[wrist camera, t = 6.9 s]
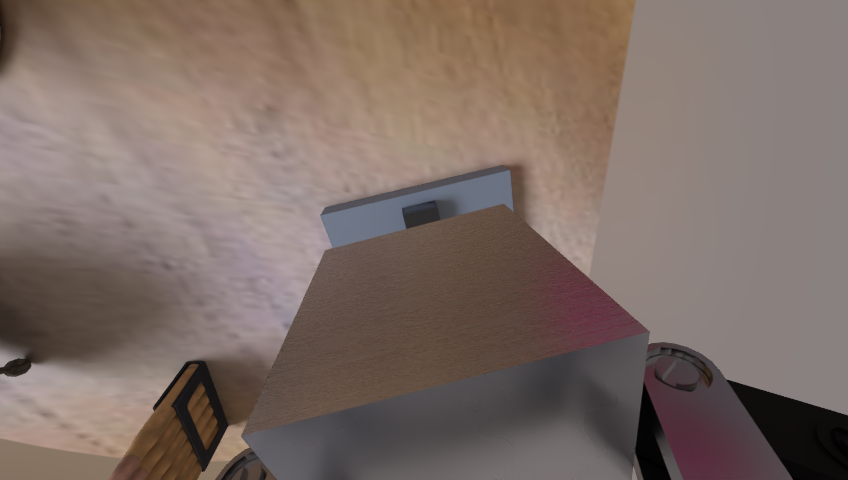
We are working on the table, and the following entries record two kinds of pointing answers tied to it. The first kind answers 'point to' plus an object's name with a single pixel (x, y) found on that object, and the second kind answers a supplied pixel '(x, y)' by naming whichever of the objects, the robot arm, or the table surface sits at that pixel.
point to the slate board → (386, 209)
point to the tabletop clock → (16, 367)
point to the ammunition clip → (177, 431)
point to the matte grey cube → (453, 363)
